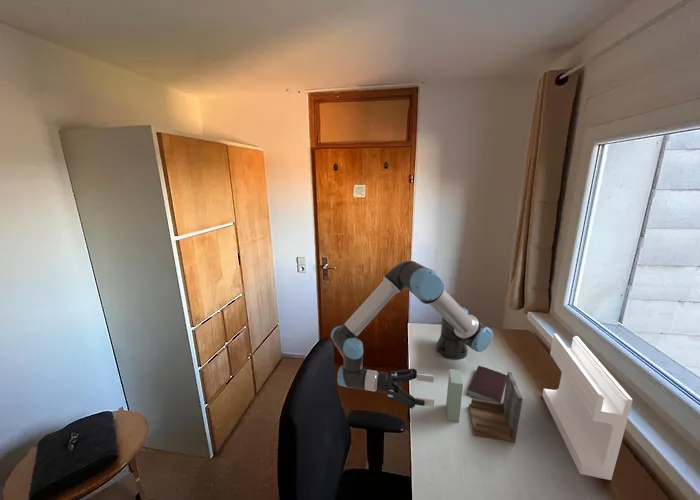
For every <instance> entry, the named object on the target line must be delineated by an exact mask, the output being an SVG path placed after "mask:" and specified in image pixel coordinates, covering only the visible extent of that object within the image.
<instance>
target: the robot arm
mask: <svg viewBox="0 0 700 500" xmlns="http://www.w3.org/2000/svg"><path fill="white" fill-rule="evenodd" d="M404 289H405V290H407V291H409V292H410V293H411V294H412V295H414V297H416V298H417V299H418V300H419V301H420V302H421V303H422V304H424V305H430V307H432V308H433V309H434V310H435V311H436V312H437V314H439V316H441V329H440V336H439V338H438V340H437V342H436V344H435V345H436V346H435V350H436V352H437V353H438V354H439V355H440V356H442V357H444V358H447V359H450V360H462V359H464V358H466V357H467V356H468V351H469V350H468V347H469V348H470V349H471V350H473V351H475V352H477V353H482V352H483V351H486V349H488V348H489V347H490V346H491V344H492V341H493V338H494V332H493V330H492V329H490V327H488V326H486V325H484V324H483V322H481V321H480V320H479V319H478V318H477V317H476V316H475V315H473V314H469V311H468V309H467V308H465V307H462V306H461V305H460V304H459V303H458V302H457V301H456V300H455V299H454V298H453V297H452V296H451V295H450V294H449V293H448V292H447V291H446V289H445V284H444V280H443V278H442V277H441V275H440V274H439V273H438V272H436V270H433V269H431V268H428V267H426V266H424V265H422V264H421V263H418V262H416V261H413V260H405V261H401V262H399V263H398V264H396V265H394V266H393V267H392V268H391V269H390V270H389V271H388V272H387V273H386V274H385V275H384V276H383V280H382V282H381V283H380V284H379V285H378V286H377V287H376V288H375V290H373V292H371V294H370V295H369V296H368V297H367V298H366V299H365V300H364V302H363V303H361V305H360V306H359V307H358V308H357V309H356V310H355V311H354V313H352V314H351V315H350V317H349V318H348V319H347V320H346V321H345V322H344V323H343V325H338V326H336V327H334V328H333V329H332V330H331V333H330V338H331V340H332V343H333V345H334V346H335V347H336V348H337V349H338V352H339V353H340V355H341V357H342V358H343V365H341V366H340V367H339V369H338V371H337V384H338V386H340V387H344V388H347V389H349V388H350V389H355V390H363V391H370V392H374V393H375V392H377V393H380V394H387V399H390V400H394V401H396V402H397V403H399V404H400V405H403V406H405V407H407V408H409V409H411V410H412V409H414V408H415V407H416V406H420V407H430V408H431V407H432V408H435V398H429V397H425V396H424V397H423V396H418V395H417V396H415V397H414V396H413V395H412V394H410V393H409V392H407V390H405V389H404V388H403V386H402V385H403V384H404V383H407V382H409V381H411V380H415V379H416V381H421V382H428V383H434V378H435V377H434V375H433V374H426V373H420V372H418V371H417V369H415V368H409V369H408V368H407V369H400V370H395V369H394V370H391V375H389V373H388V372H386V371H385V372H384V371H379V372H378V370H372V369H366V368H364V366H363V364H364V344H363V342H362V341H361V339H358V338H357V337H358V336H359V335H360V334H361V333H362V331H363V330H365V328H366V327H367V326H368V325H369V324H370V323H371V322H372V320H374V318H375V317H376V316H377V315H378V314H379V312H381V310H382V309H383V308H384V307H385V306H386V305H387V304H388V302H389V301H391V299H392V298H393V297H394V296H395V295H396V294H398V293H401V292H402V291H403V290H404Z"/></svg>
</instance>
